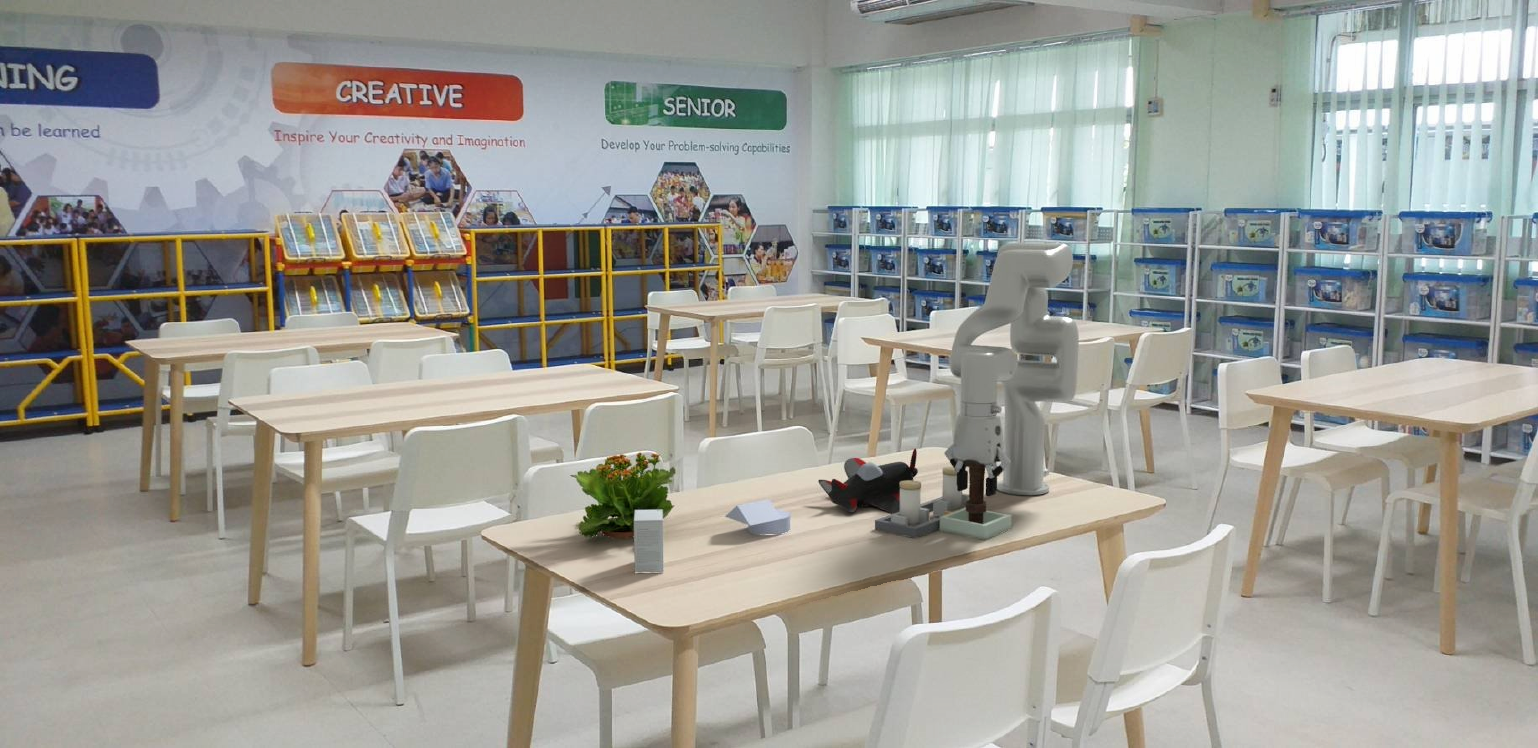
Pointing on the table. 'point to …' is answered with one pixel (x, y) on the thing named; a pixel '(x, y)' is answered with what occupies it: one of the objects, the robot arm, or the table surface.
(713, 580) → the table surface
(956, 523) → the tray
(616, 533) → the potted flower
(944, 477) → the ball
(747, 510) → the wedge on round base
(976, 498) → the bolt
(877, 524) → the block
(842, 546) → the table surface
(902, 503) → the fuse outer
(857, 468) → the toy airplane
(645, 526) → the small box
